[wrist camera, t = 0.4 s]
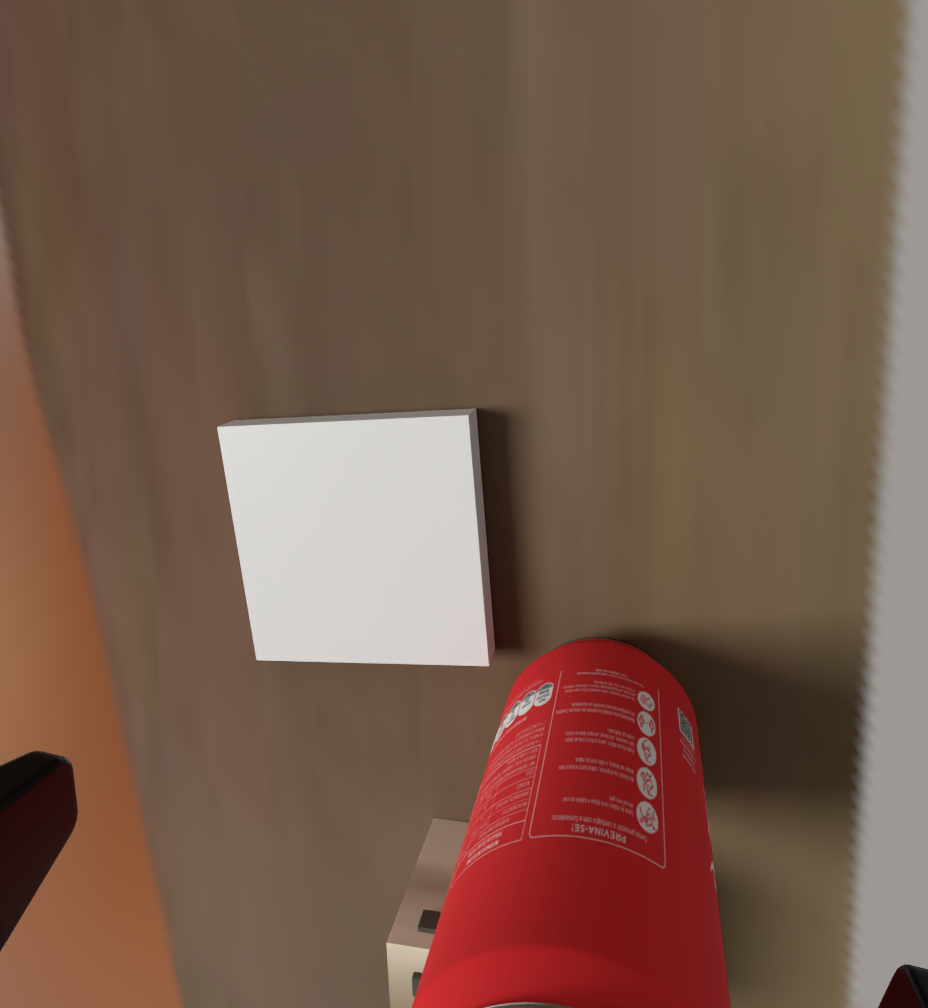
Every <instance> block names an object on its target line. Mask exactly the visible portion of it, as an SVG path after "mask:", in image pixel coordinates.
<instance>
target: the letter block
mask: <svg viewBox="0 0 928 1008" xmlns="http://www.w3.org/2000/svg"><path fill="white" fill-rule="evenodd" d="M468 824H469V823H468V822H460V821H452V820H444V819H436V818H433V821H432V824H431V826H430V829H429V832H428V834H427V837H426V840H425V842H424V845H423V847H422V850H421V853H420V855H419V858H418V861H417V863H416V866H415V869H414V871H413V874H412V876H411V879H410V882H409V884H408V887H407V890H406V892H405V895H404V898H403V900H402V903H401V906H400V908H399V911H398V913H397V916H396V919H395V921H394V924H393V927H392V929H391V932H390V935H389V937H388V940H387V942H386V943H387V959H388V976H389V992H390V1008H412V1005H413V1002H414V998H415V995H416V992H417V989H418V985H419V982H420V979H421V976H422V973H423V969H424V966H425V963H426V960H427V956H428V953H429V950H430V947H431V943H432V940H433V937H434V934H435V931H436V927H437V924H438V921H439V918H440V914H441V911H442V908H443V905H444V902H445V898H446V895H447V892H448V889H449V885H450V882H451V879H452V876H453V873H454V869H455V866H456V863H457V860H458V856H459V853H460V850H461V847H462V844H463V840H464V837H465V834H466V831H467V827H468Z"/></svg>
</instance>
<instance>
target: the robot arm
mask: <svg viewBox="0 0 928 1008" xmlns="http://www.w3.org/2000/svg"><path fill="white" fill-rule="evenodd" d="M77 814H78V808H77V799H76V791H75V782H74V774H73V767H72V764H71V763H70V761H69V760H68V759H67V758H65V757H62V756H58V755H54V754H50V753H46V752H41V751H34V752H30V753H27V754H25V755H22V756H20V757H18V758H16V759H14V760H11V761H9V762H7V763H5V764H3V765H0V951H1V949H2V948H3V946H4V944H5V943H6V941H7V940H8V938H9V936H10V935H11V933H12V931H13V930H14V928H15V926H16V925H17V923H18V921H19V920H20V918H21V917H22V915H23V913H24V912H25V910H26V908H27V906H28V905H29V903H30V902H31V900H32V898H33V897H34V895H35V893H36V891H37V890H38V888H39V886H40V885H41V883H42V882H43V880H44V878H45V876H46V875H47V873H48V872H49V870H50V868H51V867H52V865H53V863H54V862H55V860H56V858H57V857H58V855H59V853H60V852H61V850H62V848H63V847H64V845H65V844H66V842H67V840H68V839H69V836H70V835H71V833H72V831H73V829H74V826H75V824H76V820H77ZM878 1008H928V969H924V968H920V967H916V966H912V965H903V966H901V967H899V968H898V969H897V970H896V972H895V973H894V976H893V977H892V980H891V982H890V984H889V986H888V988H887V990H886V992H885V994H884V996H883V998H882V1001H881V1003H880V1005H879V1007H878Z"/></svg>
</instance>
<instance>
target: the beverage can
mask: <svg viewBox="0 0 928 1008" xmlns="http://www.w3.org/2000/svg"><path fill="white" fill-rule="evenodd" d="M412 1008H731V1007H730V999H729V990H728V982H727V973H726V965H725V957H724V948H723V940H722V931H721V923H720V914H719V906H718V898H717V889H716V881H715V872H714V864H713V855H712V847H711V839H710V830H709V822H708V813H707V805H706V796H705V788H704V780H703V771H702V763H701V754H700V746H699V738H698V729H697V722H696V717H695V713H694V710H693V707H692V704H691V702H690V700H689V698H688V696H687V694H686V693H685V691H684V689H683V688H682V686H681V685H680V684H679V682H678V681H677V680H676V679H675V678H674V677H673V676H672V675H671V674H670V673H669V672H668V671H667V670H666V669H665V668H664V667H663V666H661V665H660V664H659V663H658V662H657V661H656V660H655V659H654V658H653V657H651V656H650V655H649V654H647V653H646V652H644V651H643V650H641V649H639V648H637V647H635V646H633V645H631V644H628V643H626V642H622V641H619V640H615V639H609V638H583V639H578V640H574V641H570V642H568V643H565V644H563V645H560V646H559V647H557V648H555V649H553V650H552V651H550V652H548V653H546V654H544V655H542V656H541V657H539V658H538V659H536V660H535V661H534V662H532V663H531V664H530V665H529V666H528V667H527V668H526V669H525V670H524V671H523V672H522V673H521V674H520V676H519V677H518V678H517V680H516V681H515V683H514V685H513V687H512V689H511V691H510V693H509V696H508V699H507V702H506V705H505V708H504V711H503V715H502V718H501V721H500V724H499V728H498V731H497V734H496V737H495V740H494V744H493V747H492V750H491V753H490V757H489V760H488V763H487V766H486V769H485V773H484V776H483V779H482V782H481V786H480V789H479V792H478V795H477V798H476V802H475V805H474V808H473V811H472V815H471V818H470V821H469V824H468V827H467V831H466V834H465V837H464V840H463V844H462V847H461V850H460V853H459V856H458V860H457V863H456V866H455V869H454V873H453V876H452V879H451V882H450V885H449V889H448V892H447V895H446V898H445V902H444V905H443V908H442V911H441V914H440V918H439V921H438V924H437V927H436V931H435V934H434V937H433V940H432V943H431V947H430V950H429V953H428V956H427V960H426V963H425V966H424V969H423V973H422V976H421V979H420V982H419V985H418V989H417V992H416V995H415V998H414V1002H413V1005H412Z"/></svg>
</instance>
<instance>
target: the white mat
mask: <svg viewBox="0 0 928 1008" xmlns="http://www.w3.org/2000/svg"><path fill="white" fill-rule="evenodd" d="M217 428H218V434H219V440H220V446H221V452H222V458H223V464H224V470H225V476H226V482H227V488H228V493H229V499H230V505H231V511H232V517H233V523H234V529H235V535H236V541H237V547H238V553H239V558H240V564H241V570H242V576H243V582H244V588H245V594H246V600H247V606H248V612H249V618H250V624H251V629H252V635H253V641H254V647H255V653H256V659H257V660H269V661H308V662H347V663H386V664H425V665H464V666H489V665H490V662H491V660H492V657H493V654H494V652H495V640H494V627H493V615H492V602H491V590H490V577H489V565H488V552H487V539H486V527H485V514H484V502H483V489H482V476H481V464H480V451H479V439H478V426H477V413H476V408H474V409H454V410H433V411H413V412H392V413H372V414H351V415H331V416H310V417H290V418H269V419H249V420H234V421H231V422H229V423H226V424H224V425H221V426H218V427H217Z"/></svg>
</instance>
